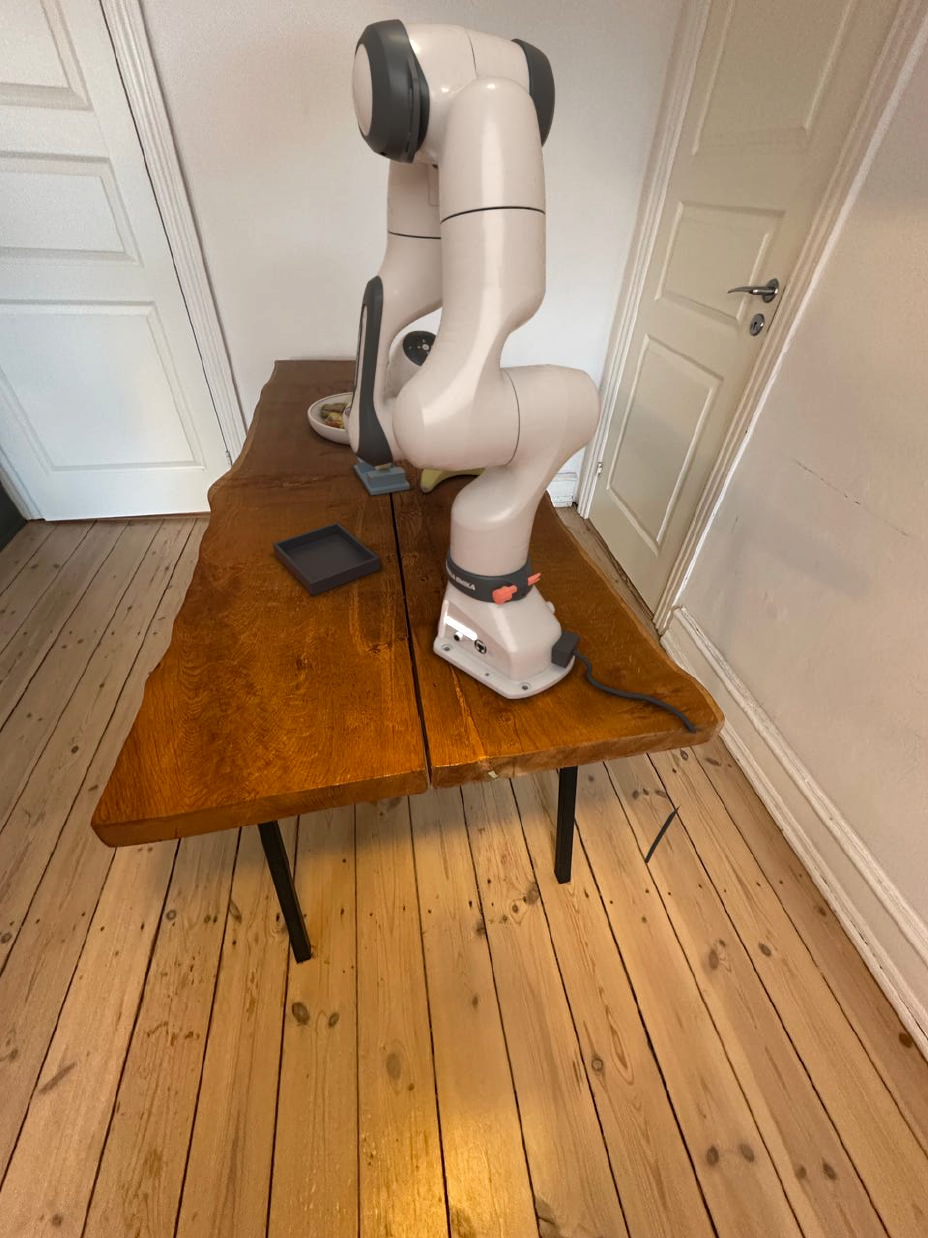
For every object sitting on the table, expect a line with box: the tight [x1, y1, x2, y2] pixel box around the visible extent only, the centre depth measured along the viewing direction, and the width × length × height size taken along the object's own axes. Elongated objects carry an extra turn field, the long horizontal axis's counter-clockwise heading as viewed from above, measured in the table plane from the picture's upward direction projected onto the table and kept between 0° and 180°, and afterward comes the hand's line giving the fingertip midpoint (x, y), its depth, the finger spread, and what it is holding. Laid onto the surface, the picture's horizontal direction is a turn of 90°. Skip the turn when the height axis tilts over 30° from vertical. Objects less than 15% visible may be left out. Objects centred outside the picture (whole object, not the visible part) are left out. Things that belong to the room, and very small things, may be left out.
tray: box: [272, 521, 381, 597], centre depth 99 cm, size 15×13×2 cm
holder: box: [353, 456, 411, 496], centre depth 125 cm, size 14×9×4 cm, turn 24°
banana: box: [420, 467, 486, 493], centre depth 125 cm, size 14×6×20 cm
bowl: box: [307, 391, 353, 446], centre depth 146 cm, size 30×30×8 cm
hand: (389, 431), depth 111 cm, fingers open, 8 cm apart
